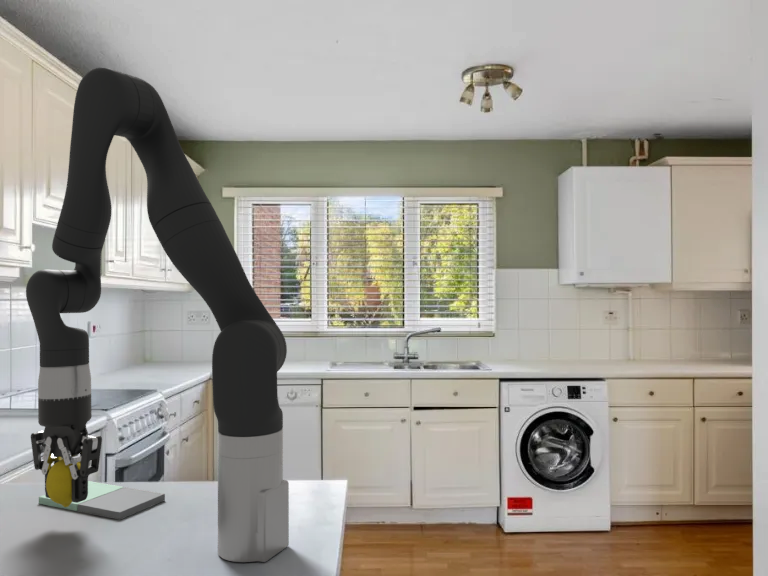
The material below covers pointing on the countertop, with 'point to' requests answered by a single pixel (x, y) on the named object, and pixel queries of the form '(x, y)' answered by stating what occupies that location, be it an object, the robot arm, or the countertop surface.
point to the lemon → (60, 483)
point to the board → (111, 500)
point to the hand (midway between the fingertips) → (66, 498)
